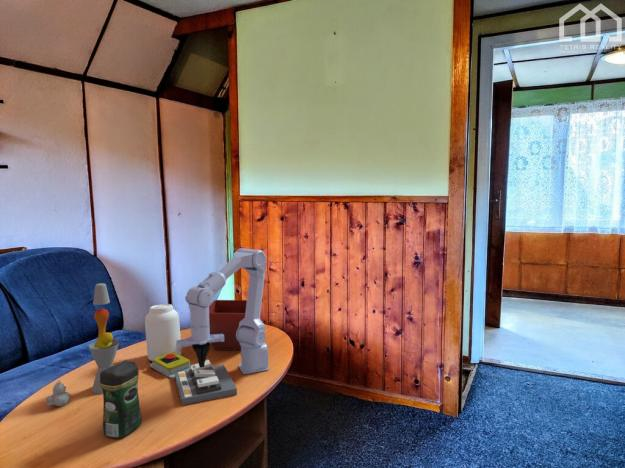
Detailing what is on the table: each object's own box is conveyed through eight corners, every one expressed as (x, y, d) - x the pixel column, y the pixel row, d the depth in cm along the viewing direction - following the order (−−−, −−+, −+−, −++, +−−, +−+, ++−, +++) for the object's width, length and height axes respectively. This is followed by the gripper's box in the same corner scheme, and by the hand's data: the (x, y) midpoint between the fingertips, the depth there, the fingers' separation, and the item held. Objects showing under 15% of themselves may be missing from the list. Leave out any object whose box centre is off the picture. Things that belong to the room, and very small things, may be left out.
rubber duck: (73, 403, 131) (72, 378, 130) (50, 413, 126) (48, 387, 125) (65, 398, 134) (63, 374, 133) (42, 407, 129) (40, 382, 128)
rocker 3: (216, 378, 139) (216, 375, 139) (219, 383, 136) (218, 380, 136) (196, 382, 136) (196, 379, 136) (198, 387, 133) (198, 384, 133)
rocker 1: (209, 362, 151) (208, 359, 151) (211, 366, 148) (210, 363, 147) (191, 368, 148) (190, 365, 148) (192, 372, 145) (191, 369, 145)
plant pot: (251, 354, 170) (250, 312, 168) (203, 353, 170) (202, 312, 168) (258, 337, 189) (257, 299, 187) (215, 336, 189) (214, 299, 187)
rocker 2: (212, 372, 145) (213, 369, 145) (214, 376, 142) (215, 373, 142) (193, 372, 142) (194, 369, 142) (195, 377, 139) (195, 373, 139)
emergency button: (171, 347, 163) (194, 358, 154) (171, 358, 164) (195, 370, 155) (148, 354, 156) (172, 367, 147) (149, 366, 157) (172, 379, 147)
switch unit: (223, 369, 155) (223, 360, 155) (237, 394, 137) (236, 383, 136) (174, 378, 148) (174, 368, 148) (181, 405, 130) (181, 393, 130)
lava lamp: (84, 391, 139) (78, 286, 135) (106, 379, 147) (101, 280, 143) (106, 396, 136) (100, 288, 132) (127, 383, 144) (122, 282, 140)
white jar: (161, 364, 158) (157, 310, 156) (141, 358, 165) (136, 307, 163) (188, 353, 168) (184, 303, 167) (168, 349, 175) (164, 301, 174)
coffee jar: (124, 417, 123) (121, 356, 121) (146, 423, 120) (143, 360, 118) (97, 436, 114) (93, 369, 112) (120, 442, 111) (116, 374, 109)
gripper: (177, 331, 128) (179, 375, 129) (225, 325, 134) (227, 366, 135) (175, 324, 134) (176, 366, 136) (221, 318, 140) (222, 358, 142)
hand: (201, 365), depth 136 cm, fingers closed
